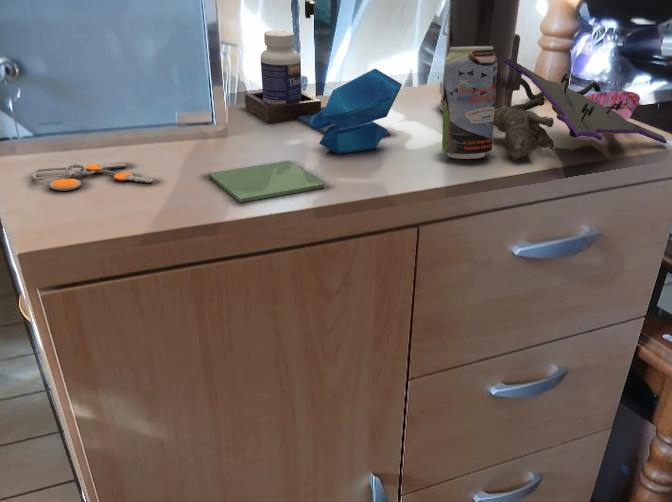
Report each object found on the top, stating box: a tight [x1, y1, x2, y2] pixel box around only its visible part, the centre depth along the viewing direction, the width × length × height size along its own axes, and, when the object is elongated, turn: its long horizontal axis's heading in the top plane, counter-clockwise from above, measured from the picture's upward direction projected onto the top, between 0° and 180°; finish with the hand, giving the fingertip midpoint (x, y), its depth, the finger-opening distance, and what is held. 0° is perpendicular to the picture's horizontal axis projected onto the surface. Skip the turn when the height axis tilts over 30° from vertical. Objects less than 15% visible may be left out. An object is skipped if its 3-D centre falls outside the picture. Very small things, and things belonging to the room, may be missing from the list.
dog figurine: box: [493, 96, 555, 161], centre depth 91 cm, size 12×6×7 cm
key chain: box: [31, 163, 154, 192], centre depth 82 cm, size 13×7×1 cm, turn 106°
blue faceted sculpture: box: [309, 68, 403, 154], centre depth 90 cm, size 7×9×12 cm
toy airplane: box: [504, 59, 667, 144], centre depth 90 cm, size 24×26×5 cm
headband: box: [584, 90, 641, 121], centre depth 100 cm, size 11×4×2 cm
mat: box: [208, 160, 325, 203], centre depth 83 cm, size 10×9×1 cm
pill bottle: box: [260, 29, 302, 105], centre depth 101 cm, size 5×5×10 cm
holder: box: [244, 90, 322, 124], centre depth 104 cm, size 8×8×2 cm
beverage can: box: [441, 46, 497, 160], centre depth 87 cm, size 6×7×12 cm
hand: (278, 9), depth 105 cm, fingers open, 8 cm apart
